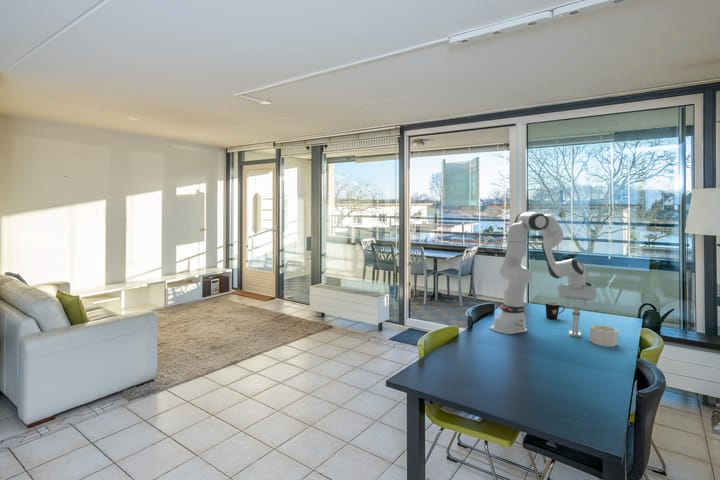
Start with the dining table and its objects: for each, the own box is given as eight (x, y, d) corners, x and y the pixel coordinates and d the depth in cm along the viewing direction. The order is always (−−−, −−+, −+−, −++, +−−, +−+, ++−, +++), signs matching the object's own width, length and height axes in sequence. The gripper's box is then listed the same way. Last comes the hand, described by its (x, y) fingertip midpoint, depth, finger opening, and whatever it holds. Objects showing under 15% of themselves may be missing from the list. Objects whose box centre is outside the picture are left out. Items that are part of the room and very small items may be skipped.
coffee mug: (544, 318, 261) (544, 304, 260) (544, 315, 268) (545, 301, 267) (563, 321, 255) (564, 306, 254) (564, 318, 263) (564, 303, 262)
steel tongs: (569, 335, 226) (570, 308, 225) (569, 333, 231) (570, 306, 229) (580, 337, 223) (582, 309, 222) (580, 334, 228) (581, 307, 227)
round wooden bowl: (610, 348, 206) (611, 333, 206) (586, 341, 216) (587, 327, 215) (620, 343, 214) (621, 329, 213) (596, 337, 223) (597, 323, 223)
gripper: (558, 281, 243) (556, 299, 236) (596, 284, 234) (596, 304, 226) (558, 287, 248) (556, 305, 240) (595, 290, 238) (595, 310, 230)
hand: (576, 304), depth 233 cm, fingers open, 8 cm apart
